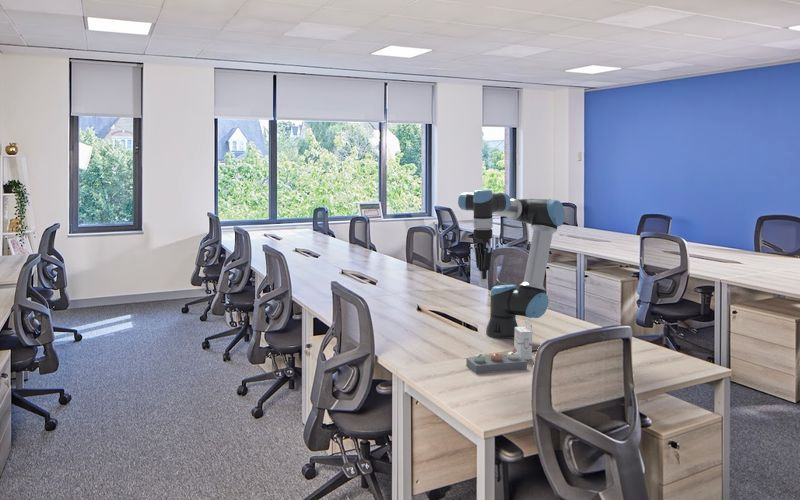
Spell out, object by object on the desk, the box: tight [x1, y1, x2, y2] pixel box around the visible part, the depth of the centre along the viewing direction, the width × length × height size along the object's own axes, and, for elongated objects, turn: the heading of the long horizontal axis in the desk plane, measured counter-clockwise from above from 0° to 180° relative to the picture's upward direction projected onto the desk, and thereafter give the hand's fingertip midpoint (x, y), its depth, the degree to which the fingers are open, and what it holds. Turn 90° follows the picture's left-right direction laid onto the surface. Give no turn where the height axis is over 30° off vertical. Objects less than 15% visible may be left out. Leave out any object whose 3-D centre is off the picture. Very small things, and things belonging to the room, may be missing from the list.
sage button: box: [473, 353, 487, 363], centre depth 243 cm, size 4×4×2 cm
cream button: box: [507, 351, 519, 360], centre depth 247 cm, size 4×4×2 cm
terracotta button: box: [490, 352, 503, 361], centre depth 245 cm, size 4×4×2 cm
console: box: [465, 354, 528, 374], centre depth 245 cm, size 21×10×3 cm, turn 105°
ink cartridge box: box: [513, 319, 533, 361], centre depth 259 cm, size 9×5×15 cm, turn 9°
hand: (483, 286), depth 257 cm, fingers closed
